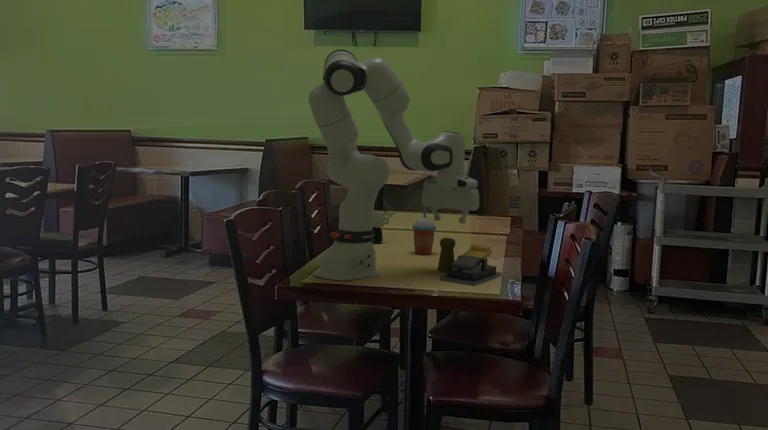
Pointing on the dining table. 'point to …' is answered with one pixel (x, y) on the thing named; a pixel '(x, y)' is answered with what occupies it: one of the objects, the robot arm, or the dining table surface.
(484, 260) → the grey box with tabs
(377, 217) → the grey trophy cup
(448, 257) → the dark tall tapered piece
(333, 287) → the dining table surface
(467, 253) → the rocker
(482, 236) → the dining table surface
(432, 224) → the cup with straw
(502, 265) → the dining table surface
